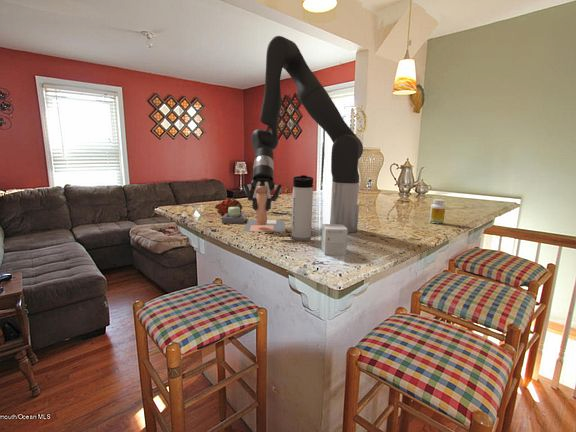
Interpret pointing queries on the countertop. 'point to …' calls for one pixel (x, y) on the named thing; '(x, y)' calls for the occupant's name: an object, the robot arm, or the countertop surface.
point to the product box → (334, 239)
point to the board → (265, 226)
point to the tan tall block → (261, 205)
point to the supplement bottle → (437, 211)
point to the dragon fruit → (227, 205)
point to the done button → (234, 212)
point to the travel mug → (302, 208)
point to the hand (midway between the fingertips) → (261, 209)
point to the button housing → (233, 219)
